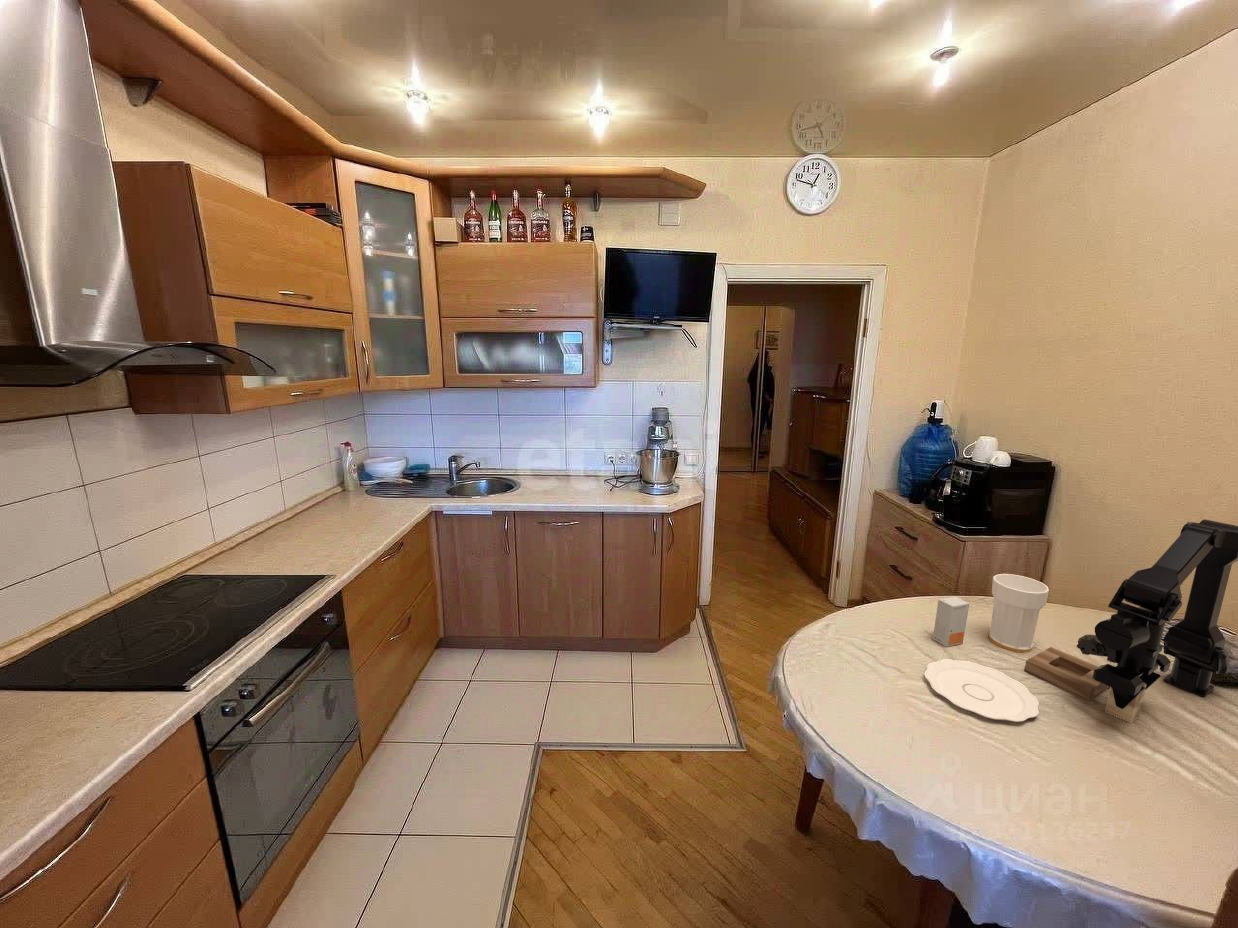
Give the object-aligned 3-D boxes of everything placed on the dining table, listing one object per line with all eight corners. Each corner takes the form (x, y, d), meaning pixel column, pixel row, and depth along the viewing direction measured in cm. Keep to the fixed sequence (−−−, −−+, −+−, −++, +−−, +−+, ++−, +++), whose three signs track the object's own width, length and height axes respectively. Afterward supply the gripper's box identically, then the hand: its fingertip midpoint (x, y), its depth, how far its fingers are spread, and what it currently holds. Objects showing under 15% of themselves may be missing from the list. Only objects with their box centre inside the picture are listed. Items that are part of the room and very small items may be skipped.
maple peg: (1113, 705, 104) (1120, 673, 103) (1138, 717, 101) (1146, 683, 99) (1104, 711, 103) (1112, 678, 101) (1130, 723, 99) (1138, 689, 97)
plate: (1062, 733, 97) (1063, 726, 97) (948, 719, 101) (949, 712, 101) (1003, 669, 117) (1004, 663, 117) (910, 660, 121) (911, 654, 121)
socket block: (1048, 657, 121) (1050, 646, 121) (1112, 684, 111) (1115, 673, 110) (1024, 671, 116) (1026, 660, 116) (1088, 701, 106) (1091, 689, 105)
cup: (1049, 655, 122) (1061, 592, 119) (1005, 655, 123) (1015, 593, 119) (1014, 630, 133) (1024, 573, 130) (973, 631, 134) (982, 573, 130)
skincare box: (946, 647, 126) (952, 606, 124) (932, 639, 130) (937, 598, 128) (964, 644, 128) (970, 603, 125) (949, 635, 132) (955, 595, 129)
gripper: (1106, 609, 109) (1094, 670, 112) (1067, 630, 101) (1055, 695, 104) (1178, 633, 99) (1162, 698, 102) (1141, 658, 91) (1125, 728, 94)
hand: (1124, 703), depth 101 cm, fingers closed on maple peg, 4 cm apart
